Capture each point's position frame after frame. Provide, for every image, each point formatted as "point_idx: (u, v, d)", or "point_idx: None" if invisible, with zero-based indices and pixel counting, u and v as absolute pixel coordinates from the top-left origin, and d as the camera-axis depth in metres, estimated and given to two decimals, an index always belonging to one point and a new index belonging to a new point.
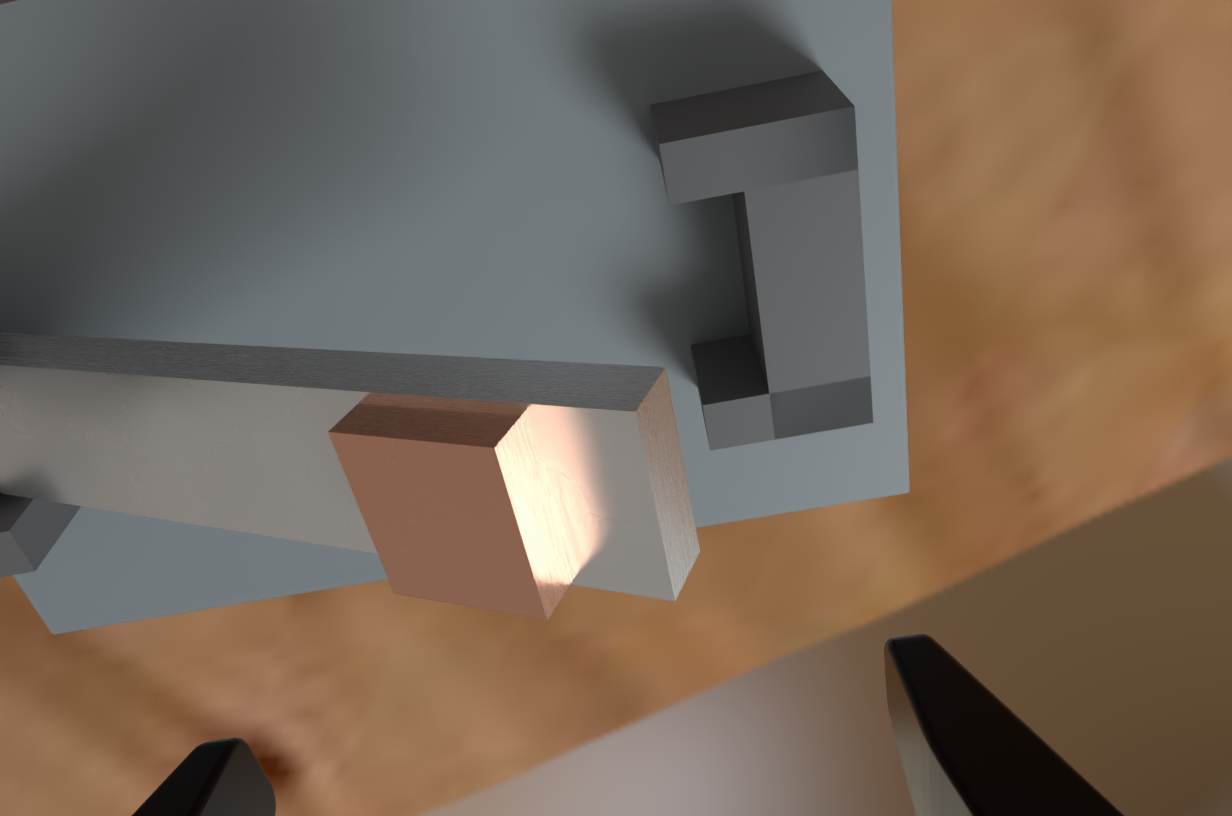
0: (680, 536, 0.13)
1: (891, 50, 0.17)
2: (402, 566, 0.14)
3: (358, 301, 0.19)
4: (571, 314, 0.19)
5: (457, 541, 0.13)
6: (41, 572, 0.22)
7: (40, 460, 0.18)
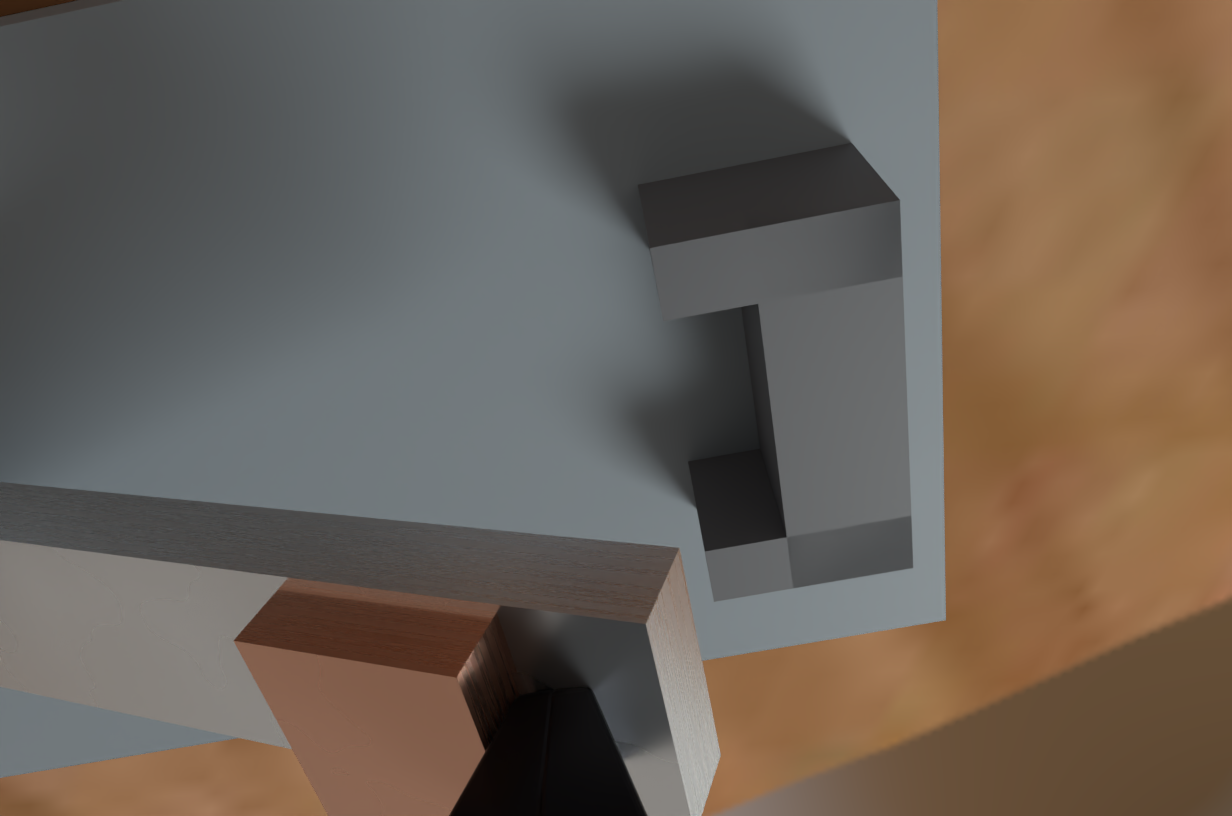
0: (699, 750, 0.10)
1: (936, 118, 0.13)
2: (340, 793, 0.11)
3: (284, 416, 0.16)
4: (544, 428, 0.16)
5: (408, 773, 0.10)
6: None
7: None
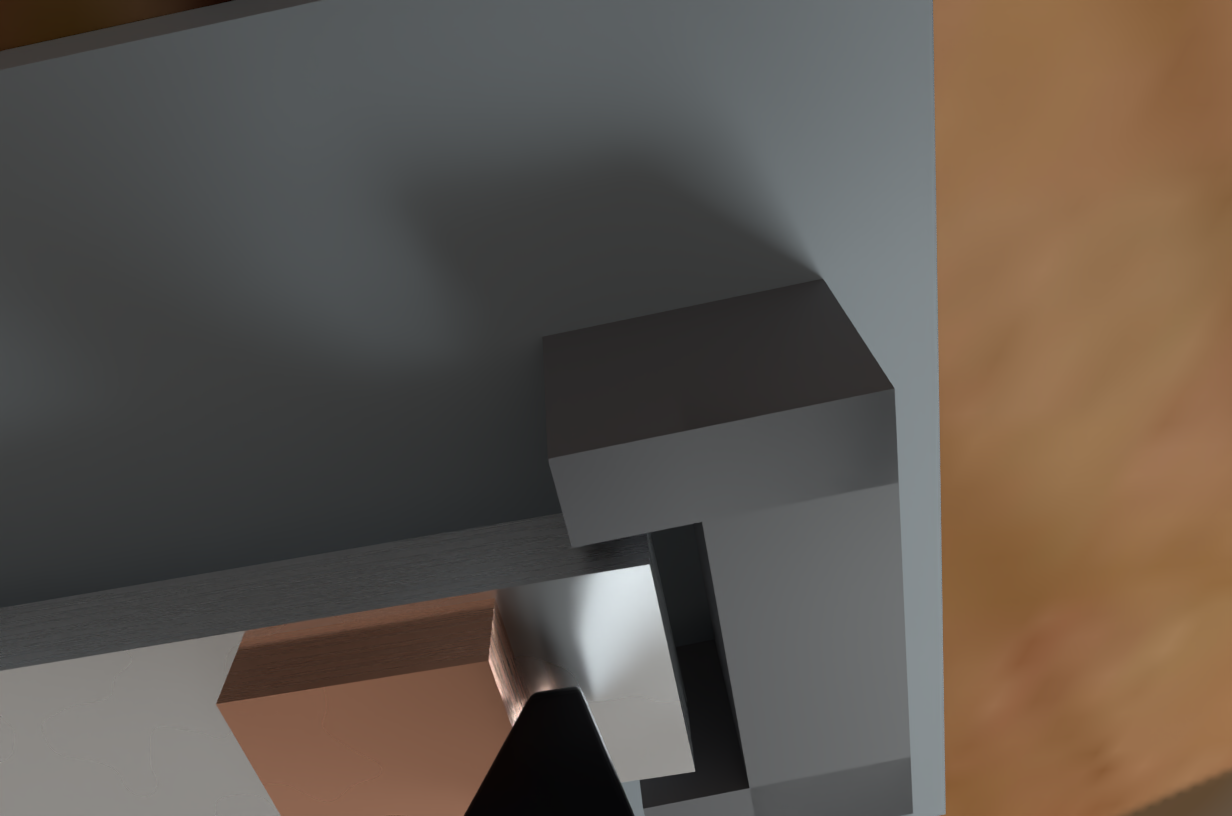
0: (681, 691, 0.11)
1: (934, 246, 0.10)
2: None
3: None
4: None
5: (425, 792, 0.10)
6: None
7: None
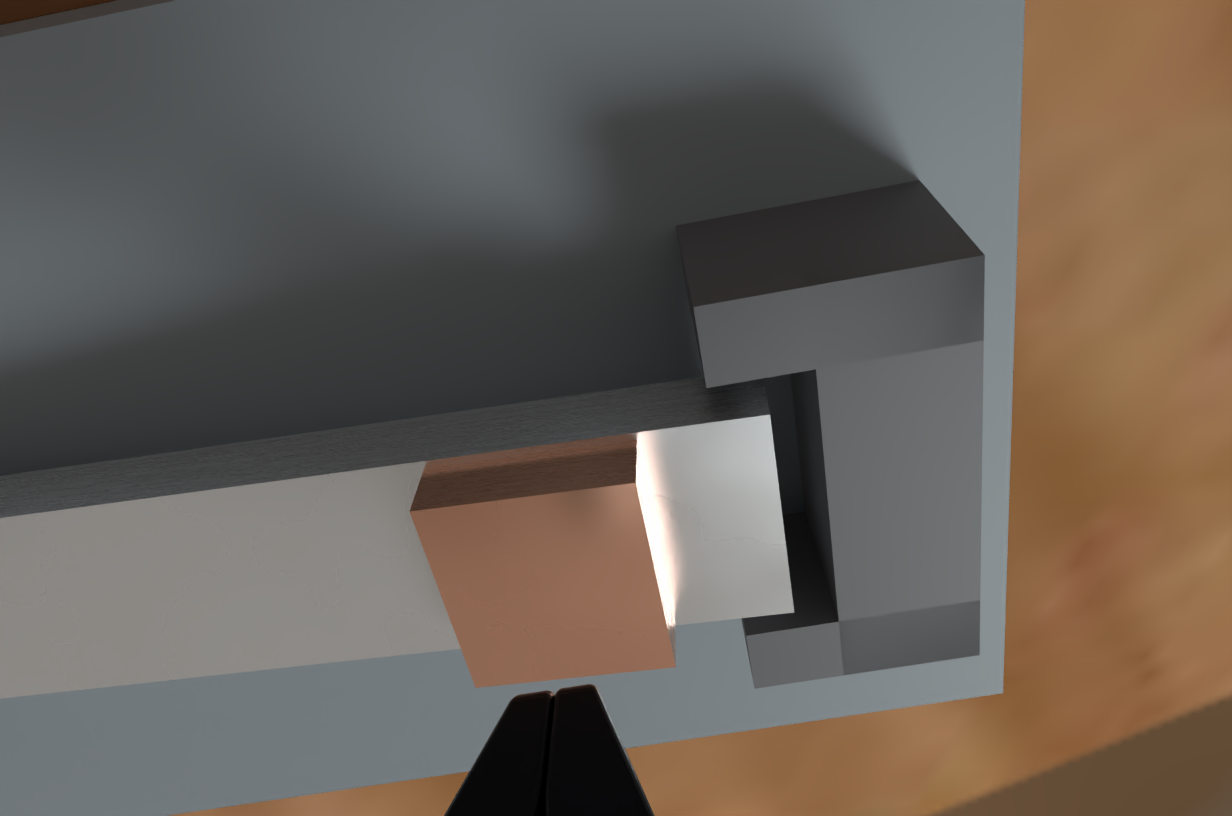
0: None
1: (1017, 153, 0.12)
2: (492, 652, 0.12)
3: None
4: None
5: (571, 603, 0.11)
6: None
7: None
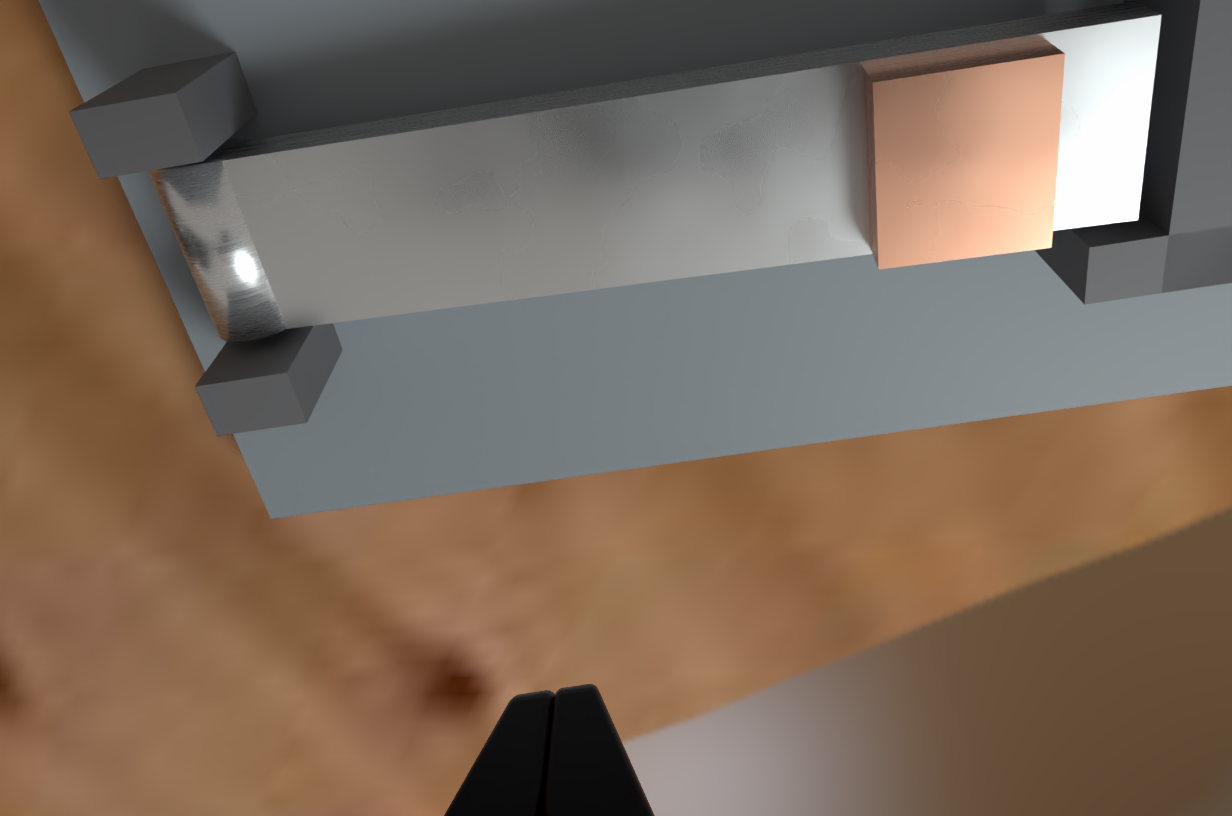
0: None
1: None
2: (902, 231, 0.15)
3: None
4: None
5: (981, 179, 0.14)
6: (271, 445, 0.20)
7: (372, 262, 0.16)
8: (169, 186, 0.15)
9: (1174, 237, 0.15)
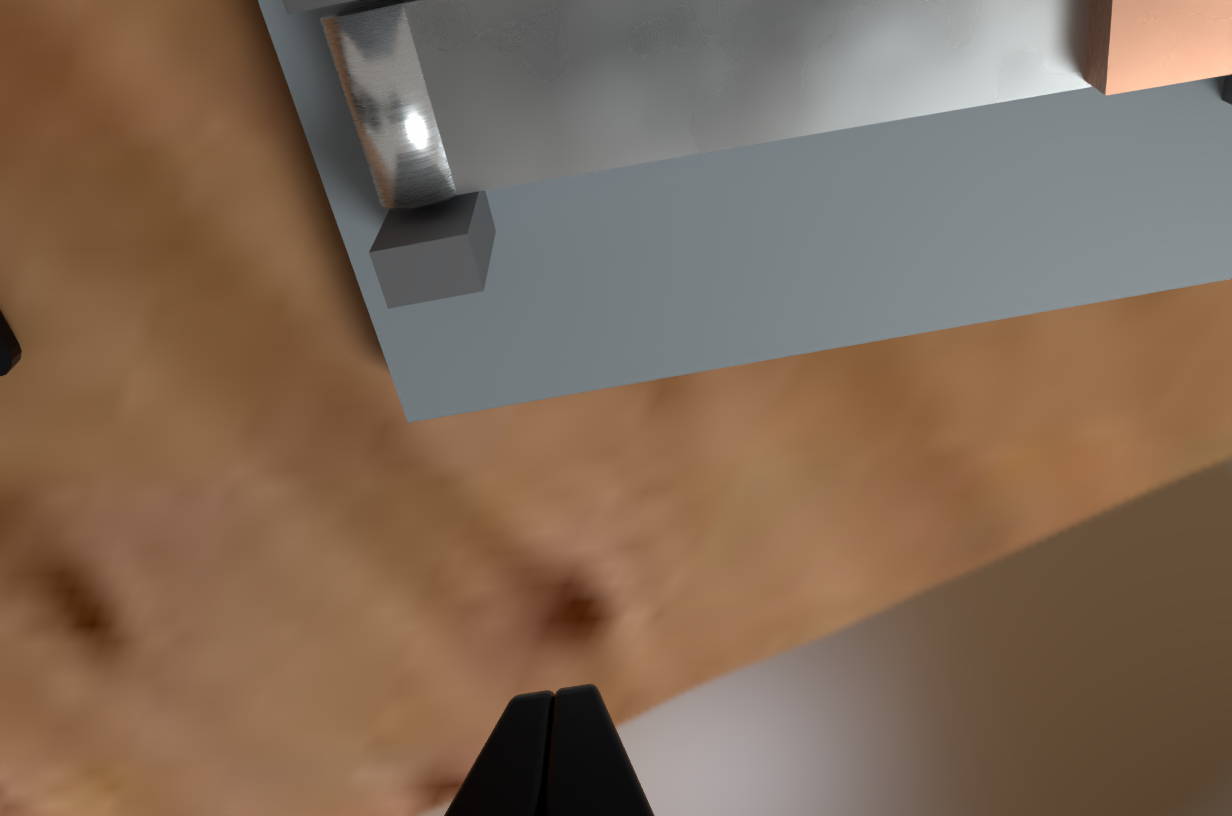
0: None
1: None
2: (1135, 50, 0.14)
3: None
4: None
5: None
6: (413, 340, 0.19)
7: (554, 115, 0.15)
8: (347, 32, 0.15)
9: None
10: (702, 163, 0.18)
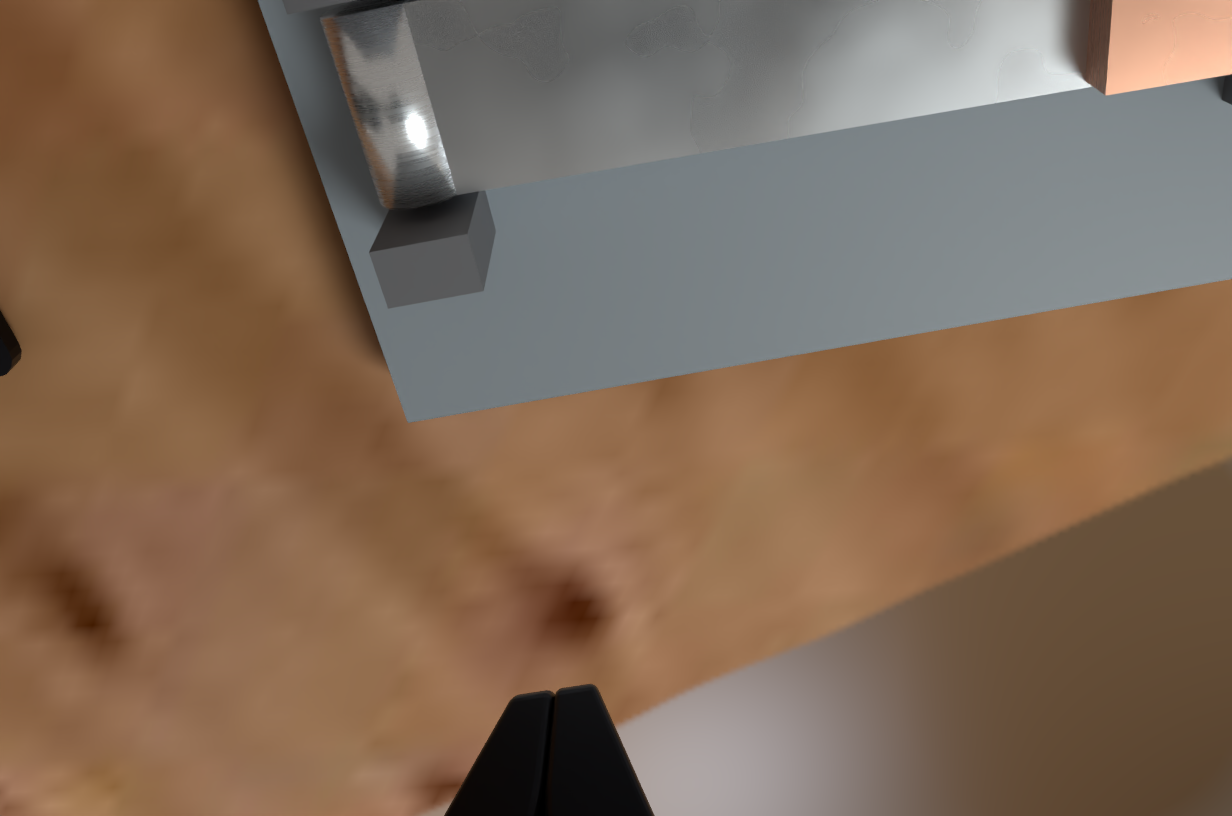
0: None
1: None
2: (1135, 50, 0.14)
3: None
4: None
5: None
6: (413, 340, 0.19)
7: (554, 115, 0.15)
8: (347, 32, 0.15)
9: None
10: (702, 163, 0.18)
